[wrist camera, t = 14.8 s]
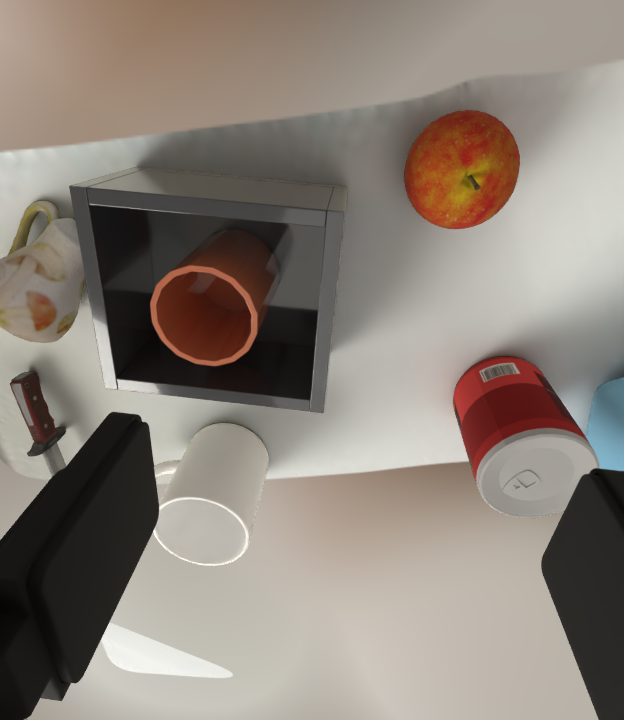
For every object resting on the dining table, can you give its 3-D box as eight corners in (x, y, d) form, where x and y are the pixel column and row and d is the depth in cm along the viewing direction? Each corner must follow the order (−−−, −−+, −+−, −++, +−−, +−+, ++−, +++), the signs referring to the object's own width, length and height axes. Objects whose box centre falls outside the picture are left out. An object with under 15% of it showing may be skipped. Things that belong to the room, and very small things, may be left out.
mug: (137, 241, 38) (74, 340, 32) (95, 281, 44) (37, 368, 39) (48, 174, 34) (-40, 274, 29) (16, 229, 41) (-59, 318, 36)
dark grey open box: (348, 186, 34) (344, 211, 26) (330, 353, 41) (323, 413, 33) (134, 166, 35) (68, 185, 27) (152, 334, 41) (104, 388, 34)
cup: (273, 484, 49) (254, 568, 40) (164, 480, 50) (122, 561, 41) (266, 421, 45) (243, 498, 36) (148, 418, 46) (97, 493, 37)
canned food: (433, 403, 42) (455, 491, 33) (492, 336, 39) (536, 414, 29) (500, 440, 44) (539, 535, 34) (563, 379, 40) (627, 466, 30)
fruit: (384, 142, 32) (391, 153, 25) (483, 87, 30) (520, 83, 23) (422, 232, 35) (437, 264, 28) (515, 188, 33) (556, 211, 26)
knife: (103, 496, 52) (79, 532, 48) (92, 497, 53) (68, 533, 48) (36, 367, 44) (1, 396, 40) (24, 368, 45) (-13, 397, 40)
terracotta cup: (281, 233, 35) (258, 271, 27) (277, 315, 38) (256, 370, 31) (192, 225, 35) (145, 260, 27) (197, 307, 39) (155, 359, 31)
